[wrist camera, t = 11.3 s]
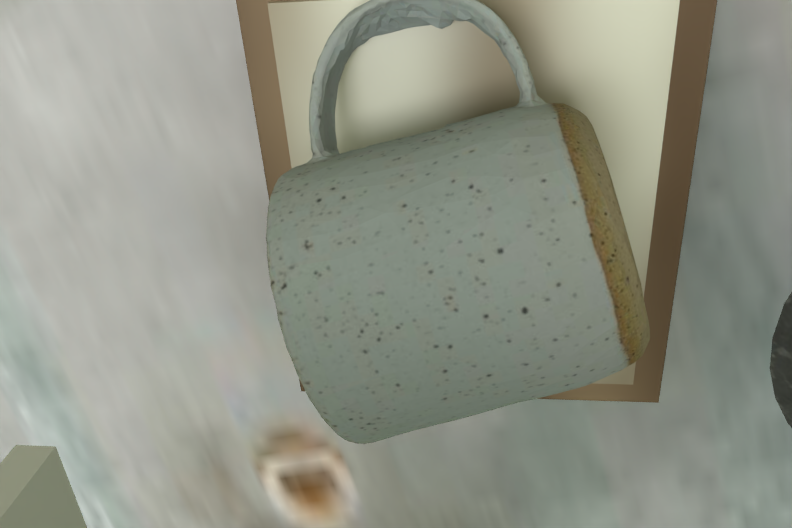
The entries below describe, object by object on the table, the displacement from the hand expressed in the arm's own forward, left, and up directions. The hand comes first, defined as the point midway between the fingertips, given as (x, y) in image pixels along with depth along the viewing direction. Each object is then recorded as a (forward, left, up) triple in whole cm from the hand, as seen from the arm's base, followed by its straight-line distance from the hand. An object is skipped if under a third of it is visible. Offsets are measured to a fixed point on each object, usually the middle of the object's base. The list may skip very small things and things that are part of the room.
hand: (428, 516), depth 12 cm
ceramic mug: (0, +2, -12) cm, 12 cm away
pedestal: (0, 0, -18) cm, 18 cm away
